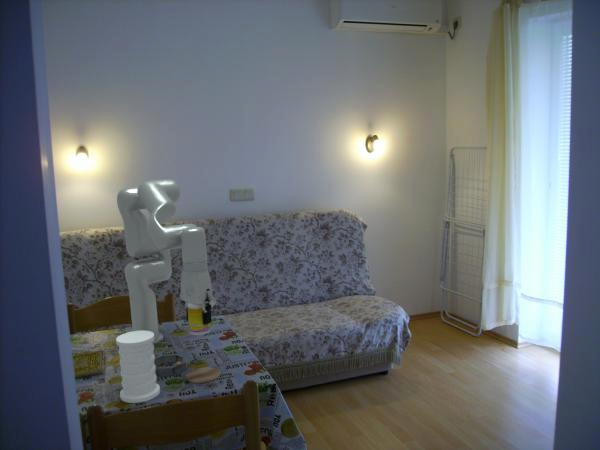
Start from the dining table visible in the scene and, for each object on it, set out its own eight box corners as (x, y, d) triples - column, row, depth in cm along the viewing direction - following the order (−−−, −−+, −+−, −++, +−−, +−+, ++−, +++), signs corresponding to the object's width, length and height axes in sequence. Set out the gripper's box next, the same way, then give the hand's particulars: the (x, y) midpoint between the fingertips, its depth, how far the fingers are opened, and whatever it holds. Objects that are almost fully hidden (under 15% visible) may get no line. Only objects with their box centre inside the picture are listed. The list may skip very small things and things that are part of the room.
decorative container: (126, 386, 167) (120, 331, 165) (163, 384, 168) (159, 329, 165) (115, 404, 156) (109, 344, 153) (155, 401, 156) (150, 342, 154)
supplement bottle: (205, 336, 167) (203, 296, 165) (186, 335, 168) (182, 295, 166) (213, 329, 173) (210, 290, 172) (194, 328, 175) (191, 290, 173)
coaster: (178, 378, 172) (178, 376, 172) (204, 366, 180) (204, 364, 180) (202, 386, 165) (202, 384, 165) (227, 373, 174) (227, 371, 174)
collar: (141, 370, 179) (140, 361, 179) (170, 358, 189) (170, 349, 188) (165, 379, 172) (164, 369, 171) (194, 365, 181) (194, 356, 181)
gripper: (167, 266, 170) (172, 320, 173) (205, 271, 160) (209, 329, 162) (186, 261, 176) (189, 314, 179) (223, 266, 165) (227, 322, 168)
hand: (199, 321), depth 170 cm, fingers closed on supplement bottle, 6 cm apart
